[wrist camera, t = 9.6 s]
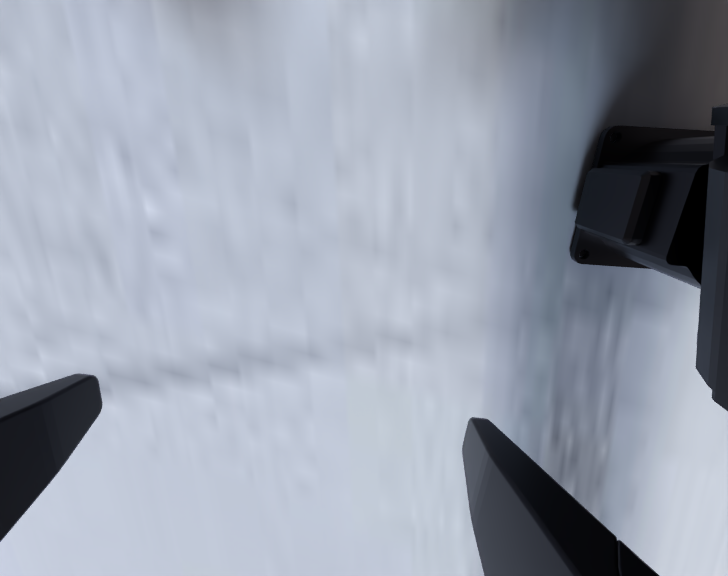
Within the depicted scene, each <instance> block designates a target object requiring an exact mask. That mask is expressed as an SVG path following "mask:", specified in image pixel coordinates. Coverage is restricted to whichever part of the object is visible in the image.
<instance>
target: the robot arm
mask: <svg viewBox="0 0 728 576" xmlns="http://www.w3.org/2000/svg"><path fill="white" fill-rule="evenodd" d="M711 125H715V131H701V130H685V129H668V128H651V127H634V126H613V127H608V128H607V129H605V130H604V131H603V132H602V134H601V136H600V139H599V143H598V147H597V151H596V154H595V158H594V162H593V166H592V169H591V170H590V171H589V172H588V173H587V176H586V180H585V184H584V188H583V192H582V196H581V200H580V204H579V208H578V212H577V216H576V220H575V224H576V225H577V229H576V233H575V237H574V240H573V244H572V248H571V254H570V256H571V258H572V259H573V260H574V261H576V262H577V263H580V264H590V265H605V266H619V267H634V268H648V269H654V270H656V271H659V272H661V273H664V274H666V275H668V276H671V277H673V278H676V279H678V280H680V281H683V282H685V283H688V284H690V285H692V286H695V287H697V288H700V289H701V294H700V310H699V325H698V333H697V355H696V369H697V370H698V372H699V373H700V375H701V376H702V378H703V379H704V381H705V382H706V384H707V385H708V386H709V387H710V388H711V389H712V399H713V400H714V401H715V402H716V403H717V404H719V405H720V406H722V407H723V408H724V409H726V410H727V411H728V104H724V105H720V106H716V107H712V119H711ZM613 133H615V134H616V140H615V142H613V143H611V141H610V136H611V135H612V134H613ZM582 250H585V255H584V256H582V257H579V253H580V252H581V251H582ZM101 409H102V398H101V393H100V387H99V381H98V379H97V377H96V376H94V375H88V374H74V375H71V376H68V377H65V378H62V379H58V380H55V381H52V382H49V383H46V384H43V385H40V386H37V387H34V388H31V389H28V390H25V391H22V392H19V393H16V394H13V395H10V396H7V397H4V398H1V399H0V542H1V541H2V539H3V538H4V537H5V536H6V535H7V533H8V532H9V531H10V530H11V529H12V527H13V526H14V525H15V524H16V523H17V521H18V520H19V519H20V518H21V517H22V515H23V514H24V513H25V512H26V511H27V510H28V508H29V507H30V506H31V505H32V504H33V502H34V501H35V500H36V499H37V498H38V496H39V495H40V494H41V493H42V492H43V490H44V489H45V488H46V487H47V486H48V484H49V483H50V482H51V481H52V480H53V478H54V477H55V476H56V475H57V473H58V472H59V471H60V469H61V468H62V467H63V465H64V464H65V462H66V461H67V460H68V458H69V457H70V455H71V454H72V453H73V451H74V450H75V448H76V447H77V445H78V444H79V443H80V441H81V440H82V438H83V437H84V435H85V434H86V433H87V431H88V430H89V428H90V427H91V425H92V424H93V423H94V421H95V420H96V418H97V417H98V415H99V414H100V412H101ZM462 454H463V462H464V470H465V477H466V485H467V492H468V500H469V508H470V514H471V521H472V525H473V530H474V534H475V538H476V542H477V547H478V551H479V555H480V559H481V563H482V567H483V571H484V575H485V576H659V575H658V574H657V573H656V572H655V571H654V570H653V569H652V568H650V567H649V566H648V565H647V564H646V563H645V562H644V561H642V560H641V559H640V558H639V557H638V556H637V555H636V554H635V553H634V552H633V551H631V550H630V549H629V548H628V547H627V546H626V545H625V544H624V543H623V542H622V541H620V540H618V541H617V537H616V536H615V535H614V534H613V533H612V532H611V531H609V530H608V529H607V528H606V527H605V526H604V525H603V524H602V523H601V522H600V521H599V520H597V519H596V518H595V517H594V516H593V515H592V514H591V513H590V512H589V511H588V510H587V509H585V508H584V507H583V506H582V505H581V504H580V503H579V502H578V501H577V500H576V499H575V498H573V497H572V496H571V495H570V494H569V493H568V492H567V491H566V490H565V489H564V488H563V487H561V486H560V485H559V484H558V483H557V482H556V481H555V480H554V479H553V478H552V477H551V476H549V475H548V474H547V473H546V472H545V471H544V470H543V469H542V468H541V467H540V466H539V465H537V464H536V463H535V462H534V461H533V460H532V459H531V458H530V457H529V456H528V455H527V454H525V453H524V452H523V451H522V450H521V449H520V448H519V447H518V446H517V445H516V444H515V443H513V442H512V441H511V440H510V439H509V438H508V437H507V436H506V435H505V434H504V433H503V432H501V431H500V430H499V429H498V428H497V427H496V426H495V425H494V424H493V423H492V422H491V421H489V420H488V419H484V418H475V417H472V418H470V419H469V421H468V425H467V429H466V433H465V437H464V442H463V448H462Z"/></svg>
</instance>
